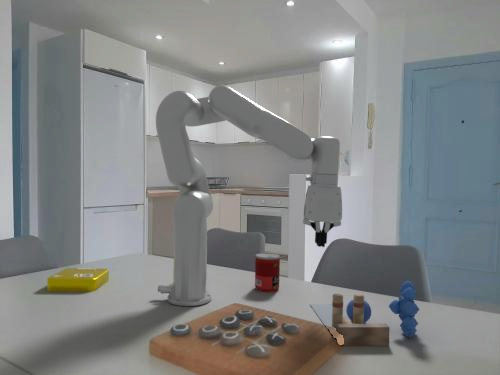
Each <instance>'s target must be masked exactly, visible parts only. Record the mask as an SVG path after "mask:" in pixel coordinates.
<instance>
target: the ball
mask: <svg viewBox="0 0 500 375" xmlns="http://www.w3.org/2000/svg"><path fill="white" fill-rule="evenodd" d="M353 301H354V298H353V299H351V300H350V301H349V302H348V303H347V305H346V308H345V309H346V312H347V315H348V317H349V319H350V320H351V321H353ZM371 316H372V308H371V305H370V304H369V303H368V302H367V301H366V299H364V324H366V323H367V322H368V321H369V320H370V319H371Z"/></svg>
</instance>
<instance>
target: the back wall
mask: <svg viewBox="0 0 500 375" xmlns="http://www.w3.org/2000/svg"><path fill="white" fill-rule="evenodd" d="M336 331H337V332H338V333H339V334H341V335H343V338H344V344H343V346H342V347H365V346H366V347H370V346H371V347H374V346H375V347H376V346H377V347H380V346H381V347H384V346H385V347H386V346H387V347H388V346H390V326H389V325H388V324H386V323H364V324H337V328H336Z"/></svg>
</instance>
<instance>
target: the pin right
mask: <svg viewBox="0 0 500 375" xmlns="http://www.w3.org/2000/svg"><path fill="white" fill-rule="evenodd" d="M353 299H354V301H353V324H365V323H364V300H365V295H364V294H361V293H354V294H353Z"/></svg>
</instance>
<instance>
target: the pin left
mask: <svg viewBox="0 0 500 375" xmlns="http://www.w3.org/2000/svg"><path fill="white" fill-rule="evenodd" d="M331 304H332V327H334V328H337V324H343V307H344V295H343V294H341V293H333V294H332V302H331Z"/></svg>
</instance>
